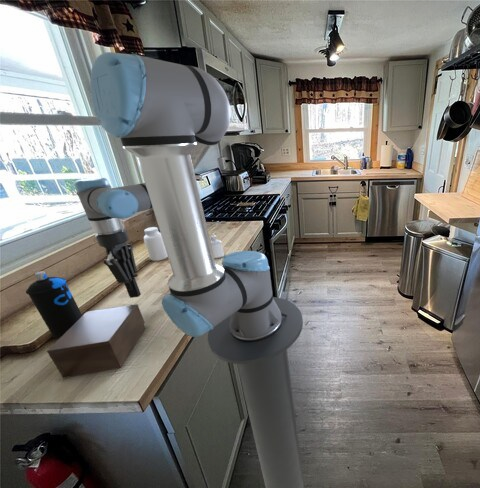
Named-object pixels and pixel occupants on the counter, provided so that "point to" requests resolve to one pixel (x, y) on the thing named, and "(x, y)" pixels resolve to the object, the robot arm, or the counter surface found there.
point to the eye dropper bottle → (216, 247)
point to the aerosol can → (54, 303)
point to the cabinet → (98, 341)
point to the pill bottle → (154, 244)
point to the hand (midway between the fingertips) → (135, 295)
